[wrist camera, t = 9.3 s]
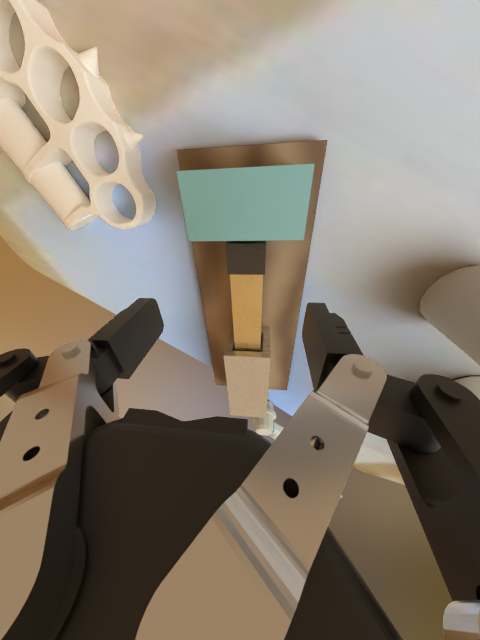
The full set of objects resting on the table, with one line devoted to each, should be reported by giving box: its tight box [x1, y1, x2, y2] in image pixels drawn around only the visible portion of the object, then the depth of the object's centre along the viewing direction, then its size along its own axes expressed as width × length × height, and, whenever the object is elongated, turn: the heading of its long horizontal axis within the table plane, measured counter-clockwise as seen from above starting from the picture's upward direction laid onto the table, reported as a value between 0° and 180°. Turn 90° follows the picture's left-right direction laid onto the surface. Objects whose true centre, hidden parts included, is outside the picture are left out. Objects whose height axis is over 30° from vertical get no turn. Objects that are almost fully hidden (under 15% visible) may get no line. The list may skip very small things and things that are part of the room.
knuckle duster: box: [0, 0, 156, 230], centre depth 20 cm, size 3×18×15 cm
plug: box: [225, 241, 266, 352], centre depth 24 cm, size 4×22×4 cm, turn 2°
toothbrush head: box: [250, 401, 284, 439], centre depth 46 cm, size 5×7×25 cm
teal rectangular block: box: [176, 164, 315, 241], centre depth 18 cm, size 10×5×6 cm, turn 92°
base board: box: [177, 140, 327, 390], centre depth 29 cm, size 14×36×2 cm, turn 2°
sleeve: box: [224, 326, 271, 418], centre depth 31 cm, size 6×14×6 cm, turn 2°
